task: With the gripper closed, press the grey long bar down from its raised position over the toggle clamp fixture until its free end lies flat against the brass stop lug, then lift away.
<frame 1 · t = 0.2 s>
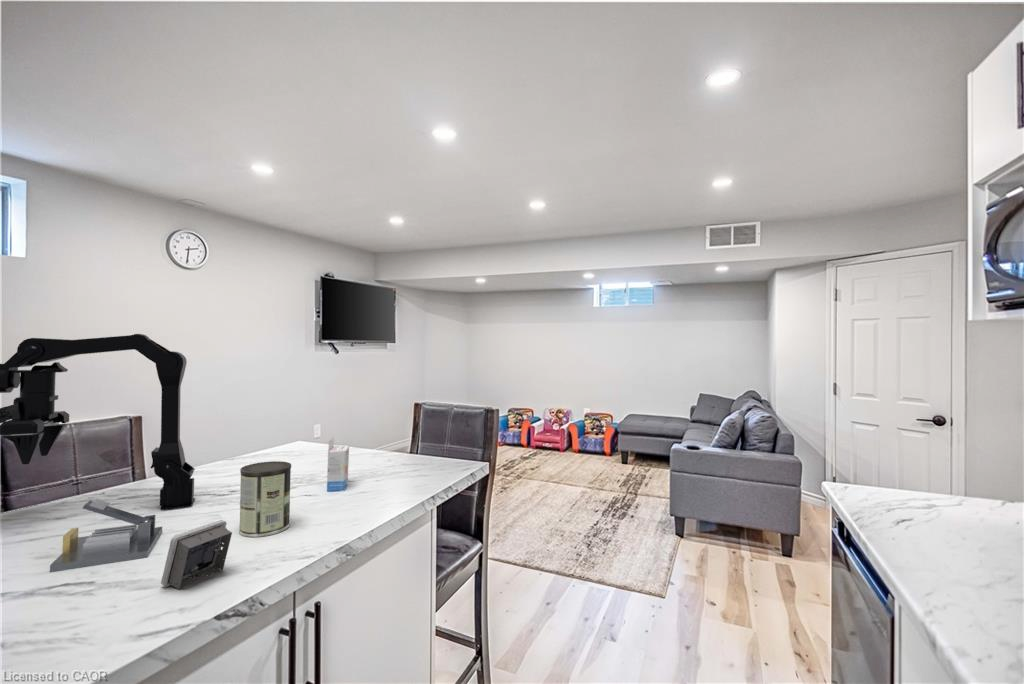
hand: (35, 459, 107), 14 cm above the worktop, fingers open, 9 cm apart
grey long bar: (119, 513, 93), point 7 cm above the worktop, hinge at 28.0°
ink box: (337, 488, 138), on the worktop
electrical switch: (199, 579, 82), on the worktop
toggle clamp fixture: (111, 550, 92), on the worktop
coffee can: (264, 529, 105), on the worktop
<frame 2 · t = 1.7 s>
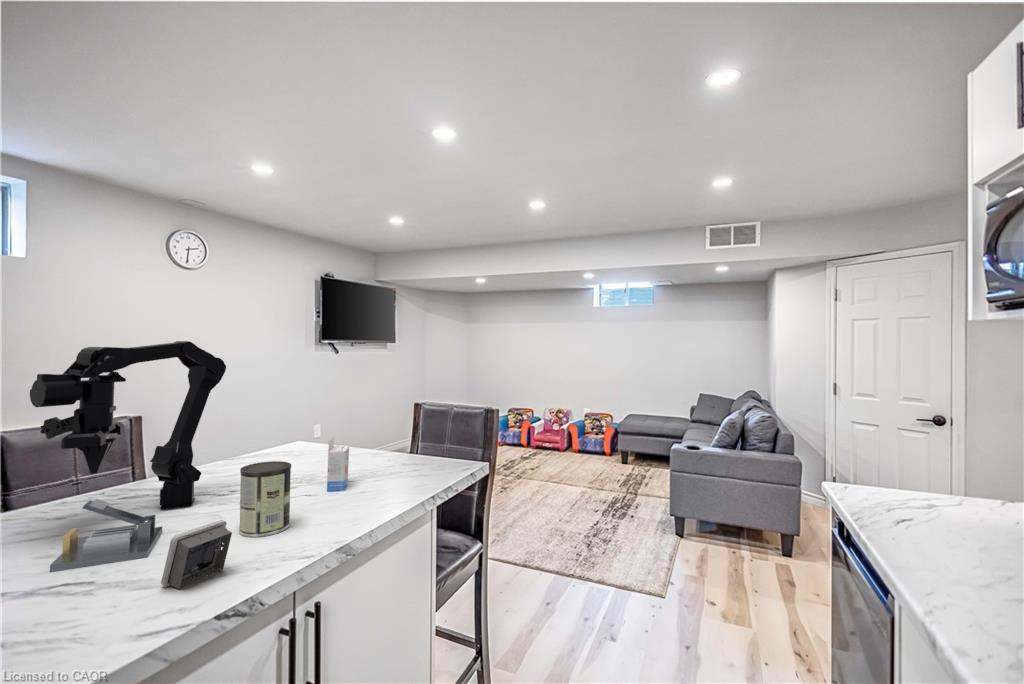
hand: (94, 473, 103), 13 cm above the worktop, fingers closed
nothing on the worktop moved.
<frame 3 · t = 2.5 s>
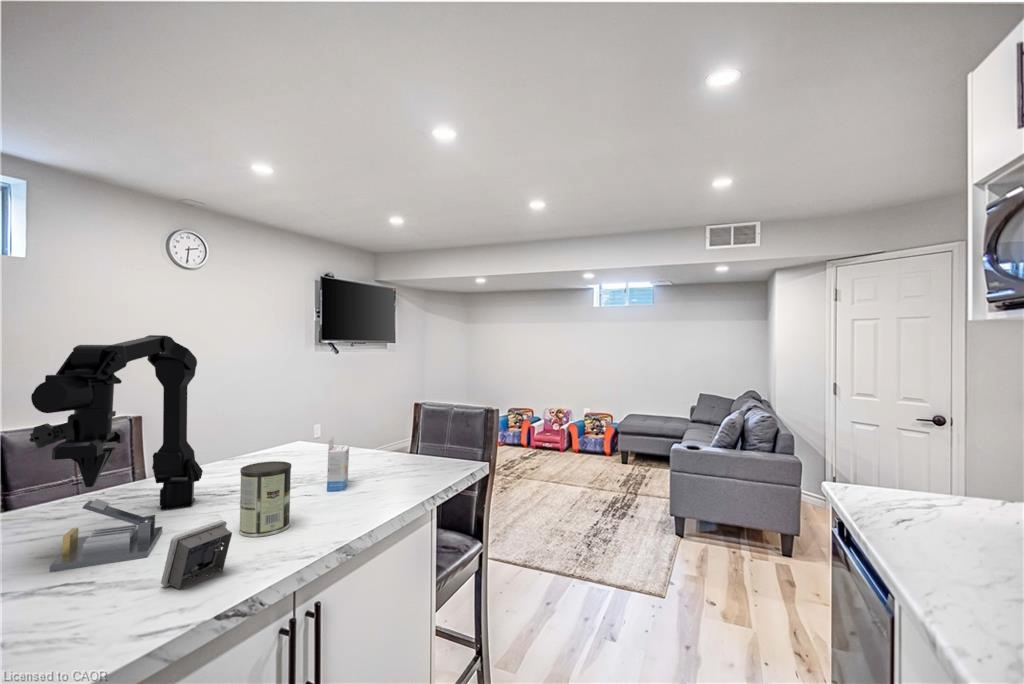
hand: (89, 486, 91), 13 cm above the worktop, fingers closed
nothing on the worktop moved.
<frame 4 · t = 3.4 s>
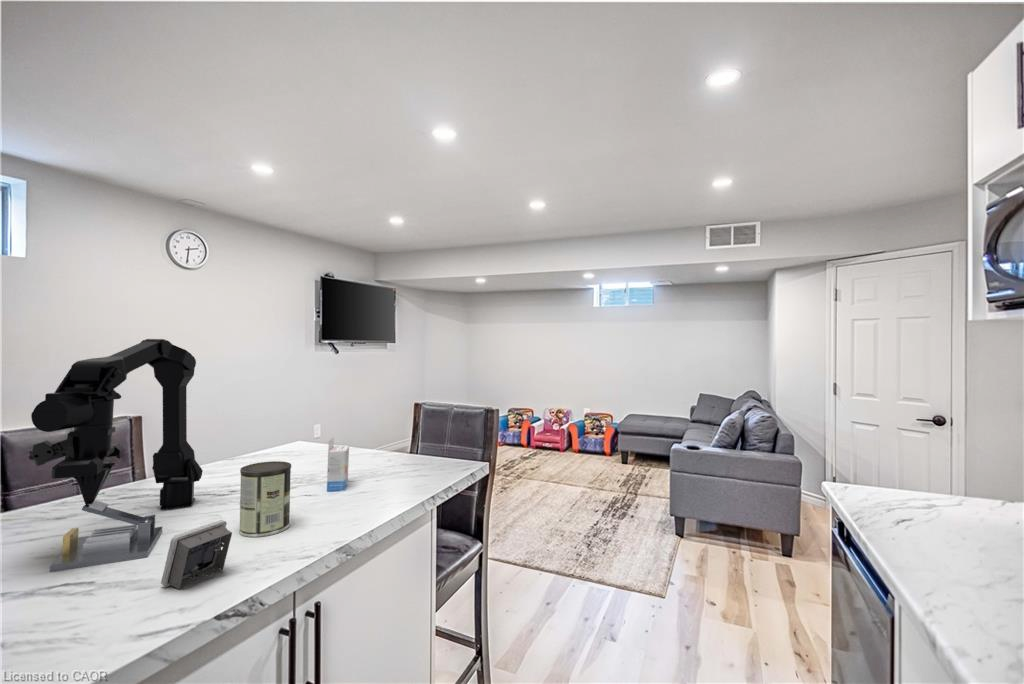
hand: (89, 503, 91), 10 cm above the worktop, fingers closed, pressing on grey long bar
grey long bar: (119, 514, 93), point 7 cm above the worktop, hinge at 26.2°, touching gripper
everything else where it was.
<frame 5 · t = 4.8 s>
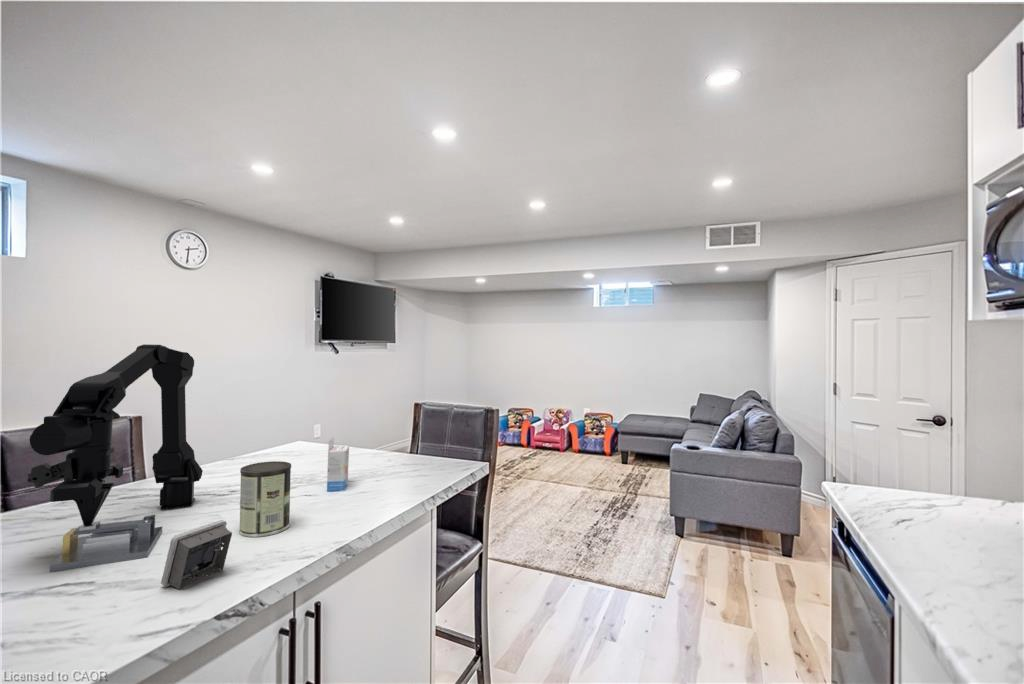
hand: (88, 524, 91), 6 cm above the worktop, fingers closed, pressing on grey long bar
grey long bar: (114, 525, 93), point 5 cm above the worktop, hinge at 0.9°, touching gripper
everything else where it was.
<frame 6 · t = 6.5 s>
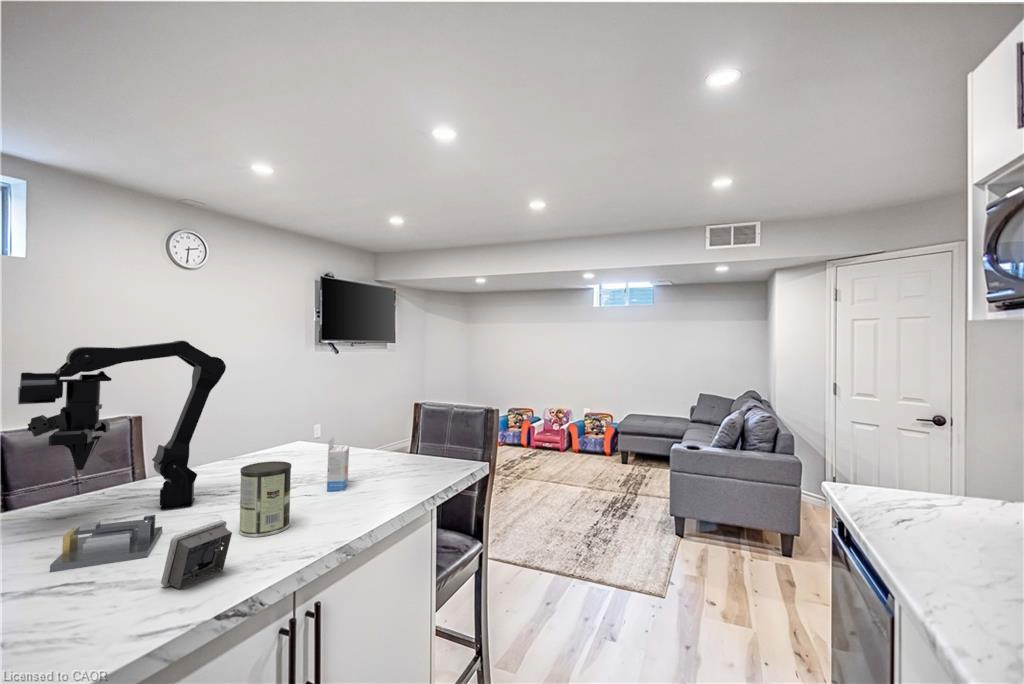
hand: (80, 469, 106), 12 cm above the worktop, fingers closed
grey long bar: (114, 525, 93), point 5 cm above the worktop, hinge at 0.8°
everything else where it was.
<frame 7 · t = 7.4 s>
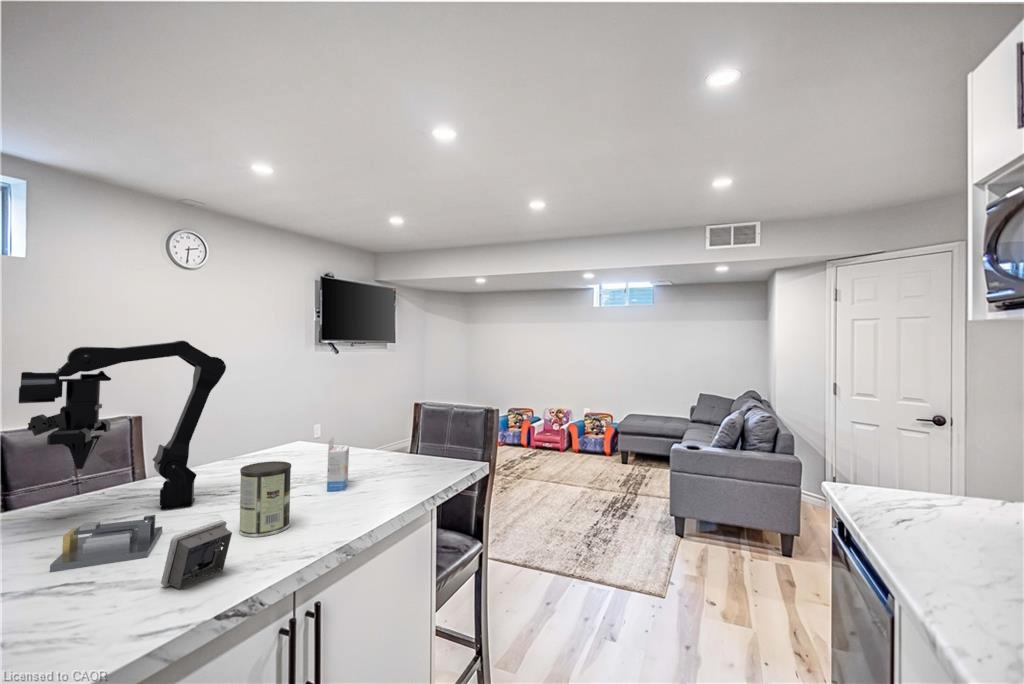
hand: (80, 468, 106), 13 cm above the worktop, fingers closed
nothing on the worktop moved.
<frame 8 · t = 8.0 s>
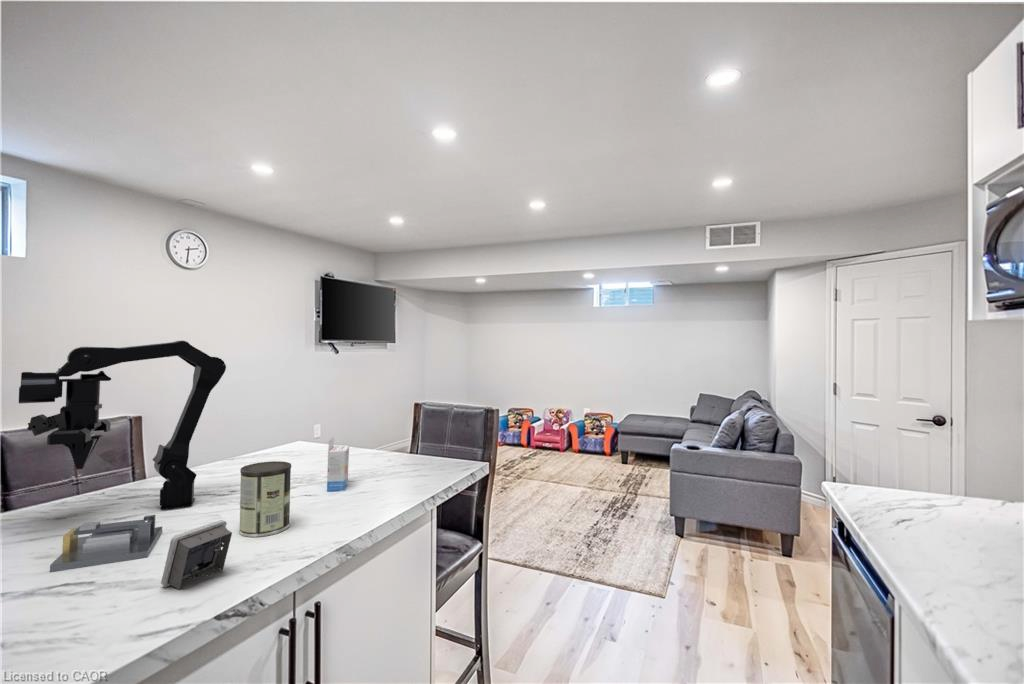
hand: (80, 468, 106), 13 cm above the worktop, fingers closed
nothing on the worktop moved.
at the end: grey long bar at +1° (first picture: +28°); grey long bar touching nothing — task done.
